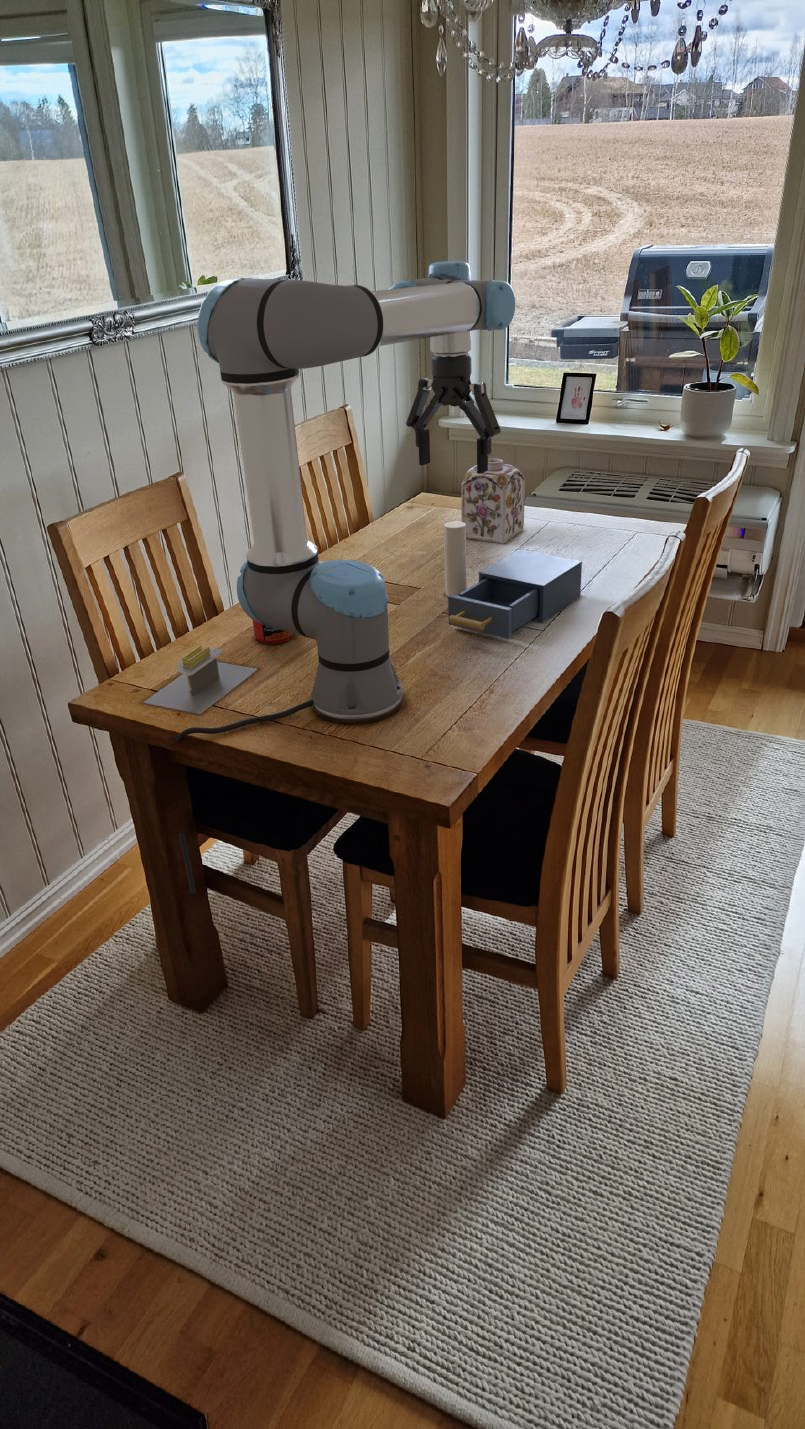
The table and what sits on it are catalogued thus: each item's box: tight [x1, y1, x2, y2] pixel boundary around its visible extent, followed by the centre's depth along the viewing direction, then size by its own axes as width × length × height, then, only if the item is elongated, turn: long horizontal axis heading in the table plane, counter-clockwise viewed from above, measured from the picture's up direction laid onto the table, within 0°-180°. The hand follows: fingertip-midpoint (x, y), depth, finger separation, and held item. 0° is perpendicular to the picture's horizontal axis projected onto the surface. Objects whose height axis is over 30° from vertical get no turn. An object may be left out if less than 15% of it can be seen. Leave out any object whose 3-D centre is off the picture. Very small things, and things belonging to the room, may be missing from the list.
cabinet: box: [478, 549, 583, 623], centre depth 194 cm, size 16×15×8 cm
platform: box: [142, 644, 259, 715], centre depth 168 cm, size 12×18×7 cm, turn 156°
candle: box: [443, 520, 468, 597], centre depth 198 cm, size 4×4×15 cm
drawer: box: [447, 578, 540, 640], centre depth 184 cm, size 19×13×6 cm
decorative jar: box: [460, 457, 526, 545], centre depth 230 cm, size 12×12×18 cm
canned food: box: [251, 619, 294, 645], centre depth 184 cm, size 8×8×11 cm
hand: (453, 468), depth 189 cm, fingers open, 13 cm apart
